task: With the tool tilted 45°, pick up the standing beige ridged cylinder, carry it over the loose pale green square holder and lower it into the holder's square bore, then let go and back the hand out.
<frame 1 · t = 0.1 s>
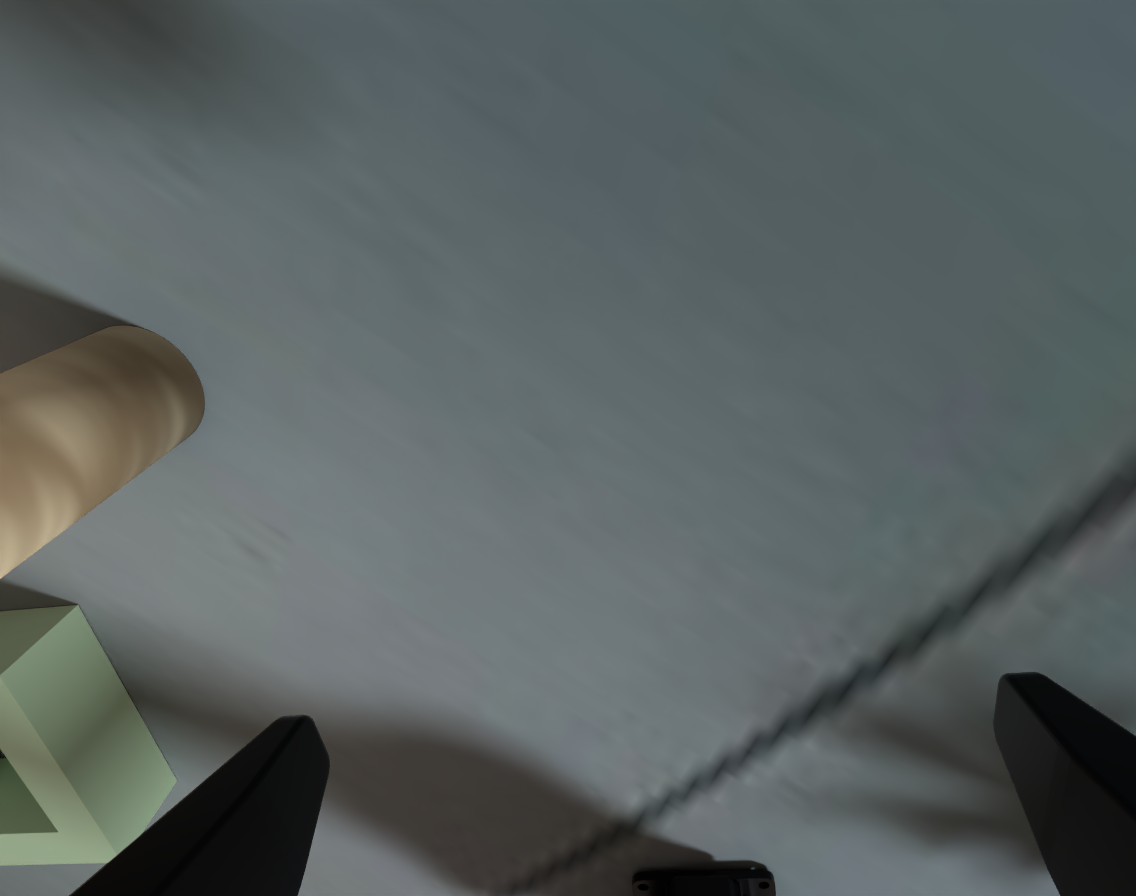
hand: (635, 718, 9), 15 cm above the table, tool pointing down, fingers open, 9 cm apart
pale green square holder: (27, 705, 32), on the table
beige ridged cylinder: (141, 387, 24), on the table
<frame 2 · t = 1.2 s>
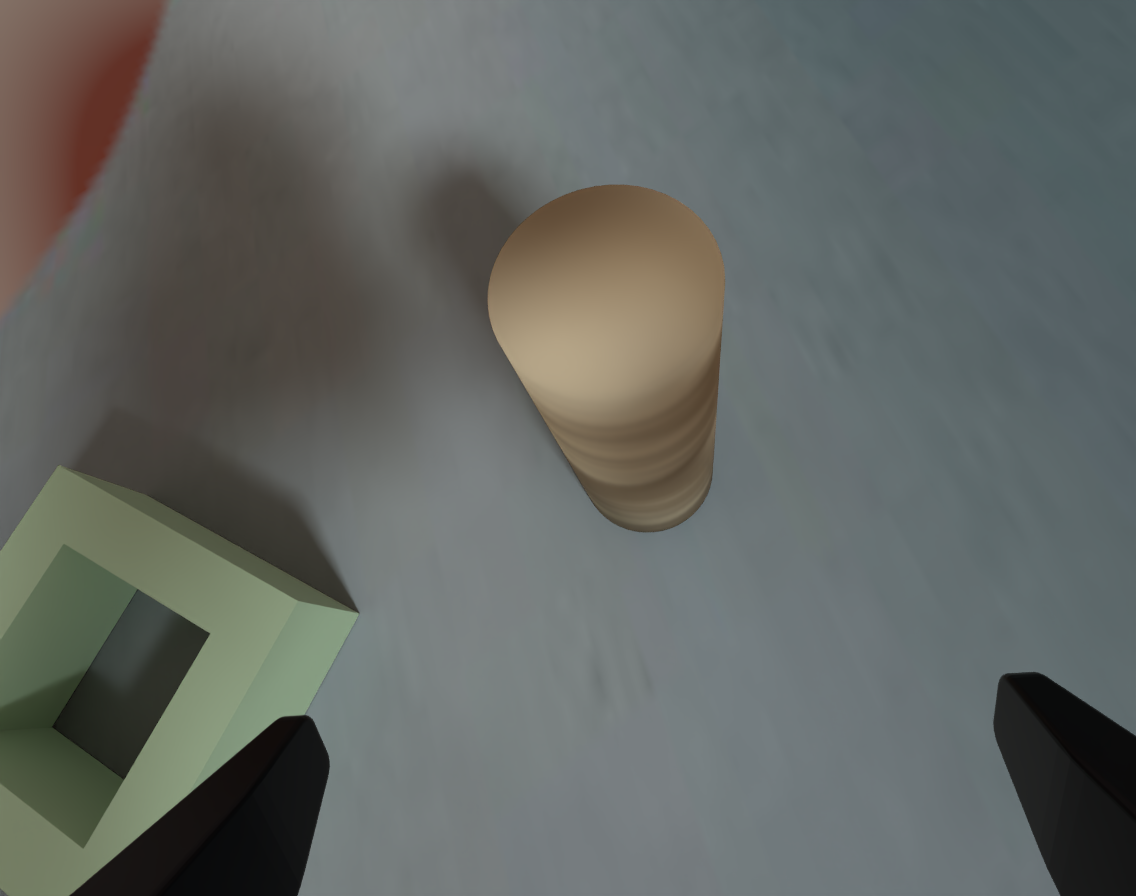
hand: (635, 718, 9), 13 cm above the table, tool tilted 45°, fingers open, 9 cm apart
pale green square holder: (167, 684, 25), on the table
beige ridged cylinder: (647, 469, 24), on the table
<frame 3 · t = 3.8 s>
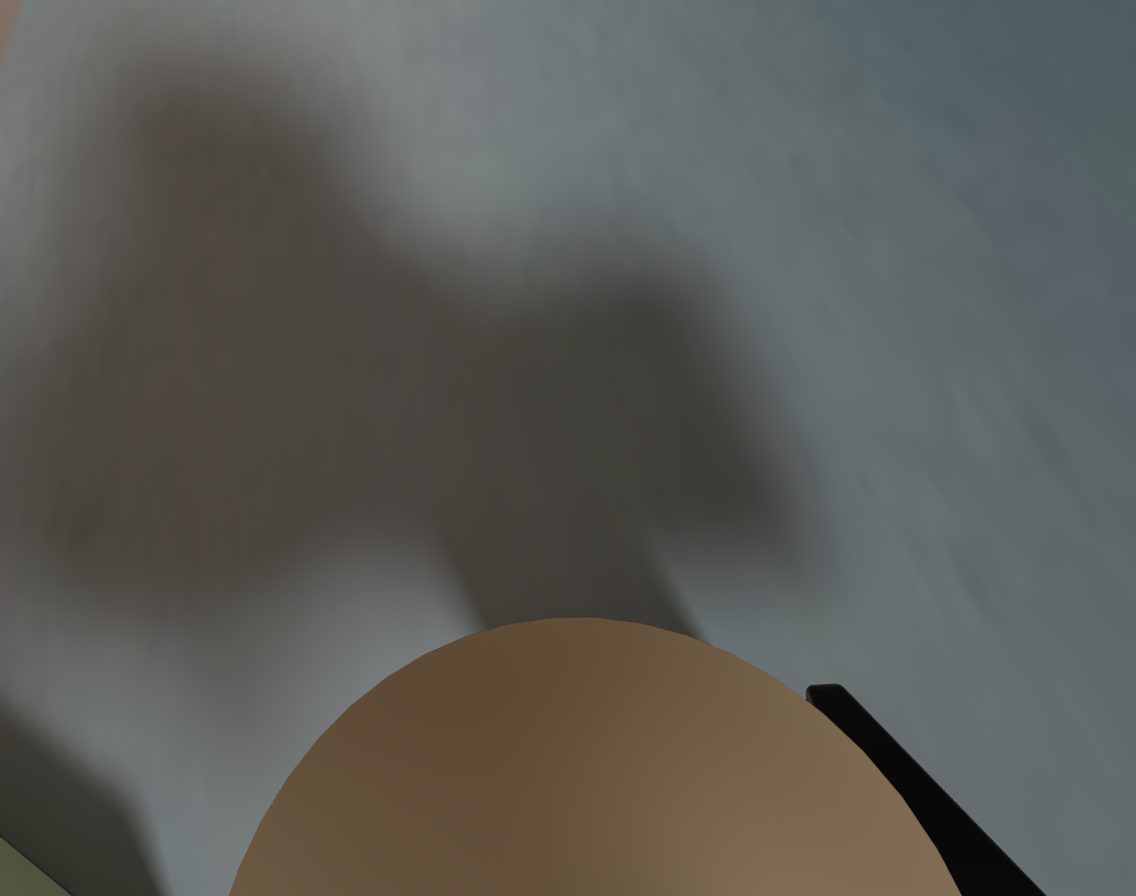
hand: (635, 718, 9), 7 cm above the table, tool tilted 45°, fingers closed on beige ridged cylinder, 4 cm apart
beige ridged cylinder: (666, 775, 15), on the table, touching gripper
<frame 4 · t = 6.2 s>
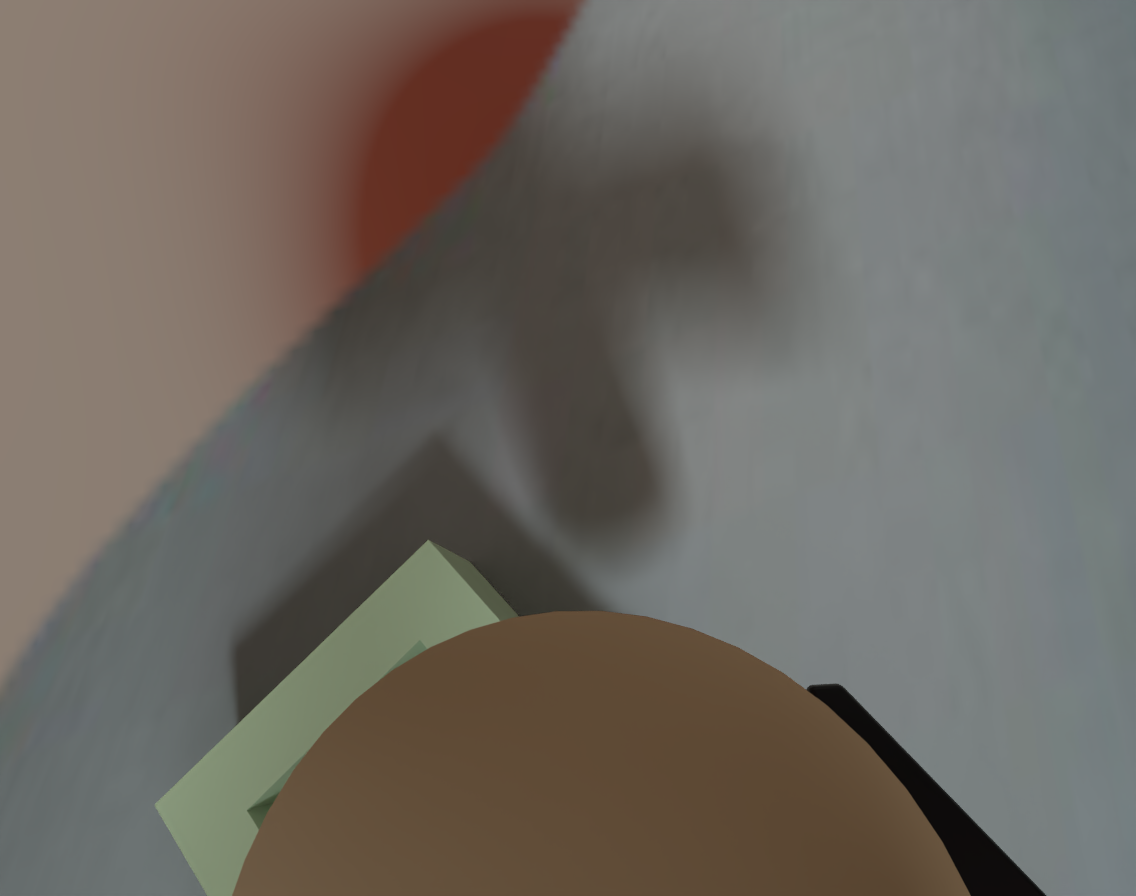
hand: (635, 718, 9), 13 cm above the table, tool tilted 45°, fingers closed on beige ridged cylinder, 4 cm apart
pale green square holder: (454, 796, 22), on the table
beige ridged cylinder: (668, 772, 15), point 7 cm above the table, touching gripper
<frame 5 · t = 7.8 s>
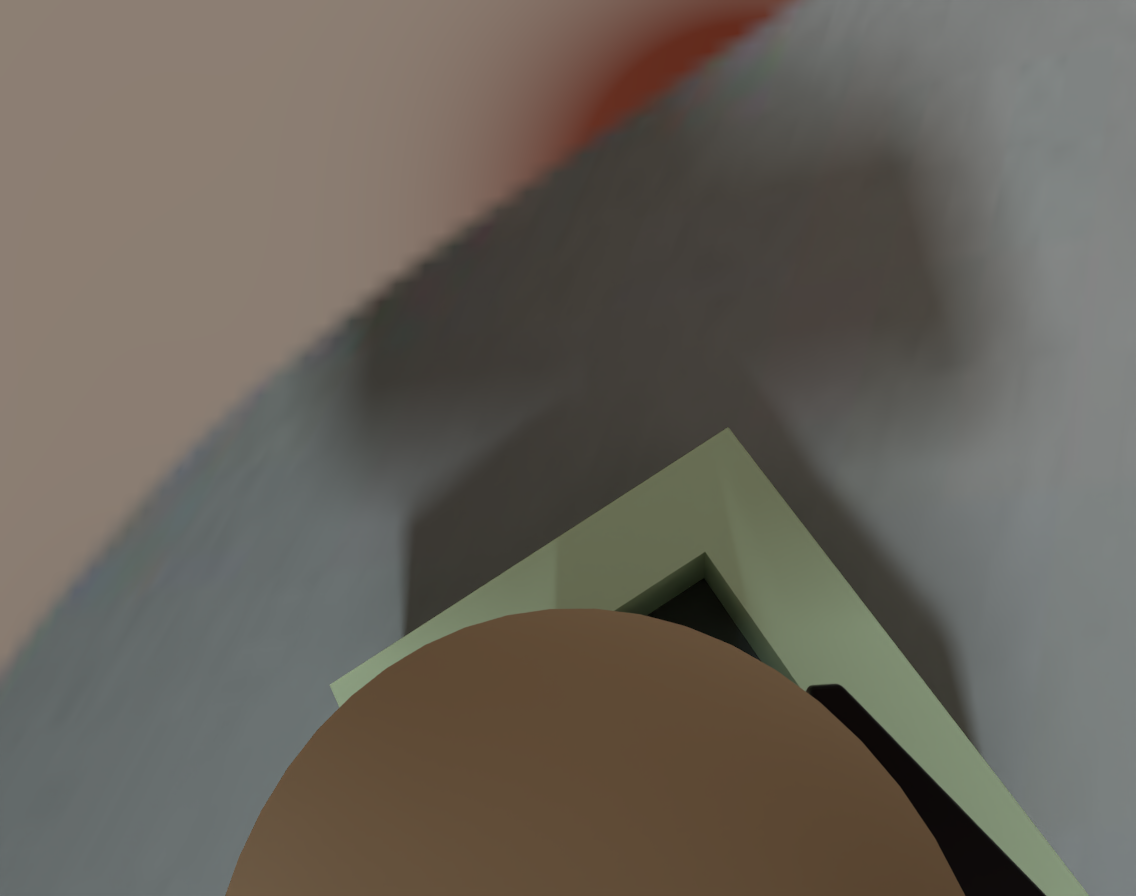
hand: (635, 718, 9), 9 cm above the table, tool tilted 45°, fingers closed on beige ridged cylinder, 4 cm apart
pale green square holder: (670, 758, 17), on the table
beige ridged cylinder: (666, 772, 15), point 3 cm above the table, touching gripper
when the fingers open (8 cm above the table, at t = 8.8 s): beige ridged cylinder drops 1 cm, resting in pale green square holder.
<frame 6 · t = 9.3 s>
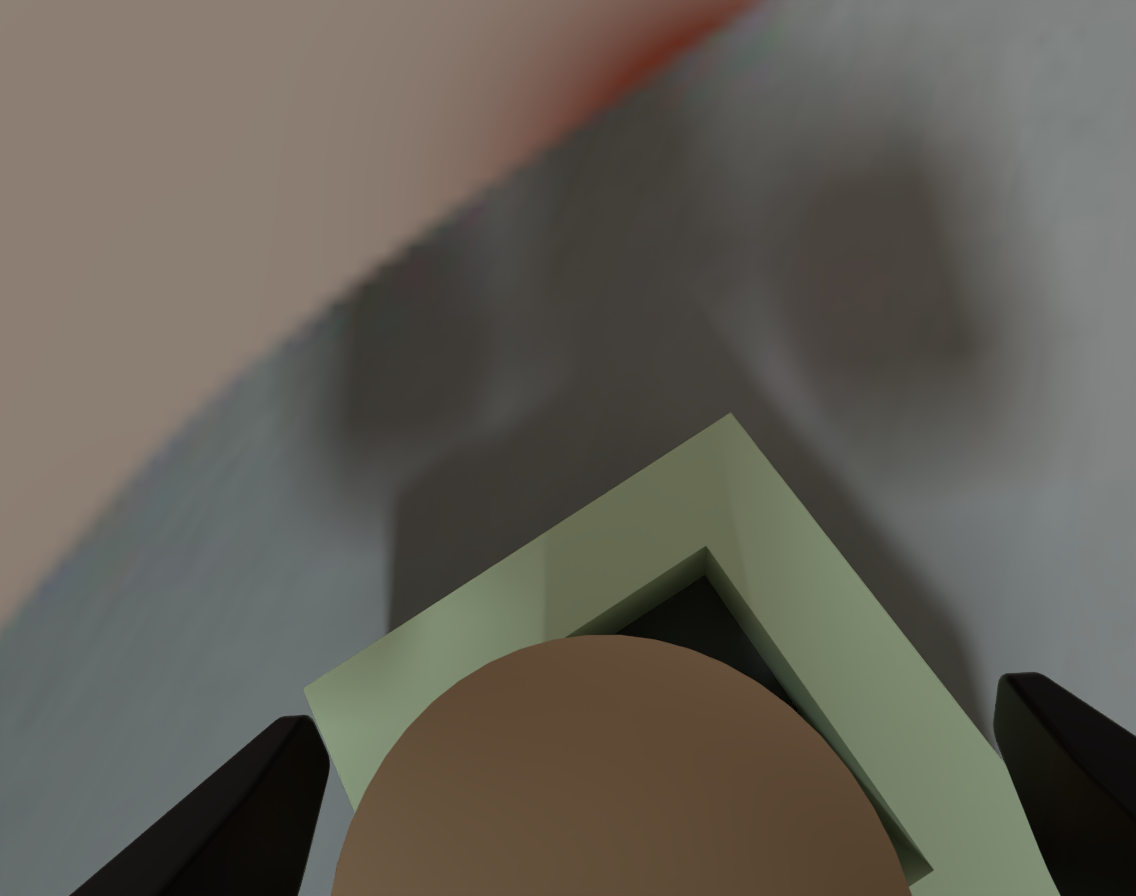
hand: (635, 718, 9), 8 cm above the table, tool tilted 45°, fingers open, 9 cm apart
pale green square holder: (669, 767, 16), on the table
beige ridged cylinder: (669, 766, 16), resting in pale green square holder
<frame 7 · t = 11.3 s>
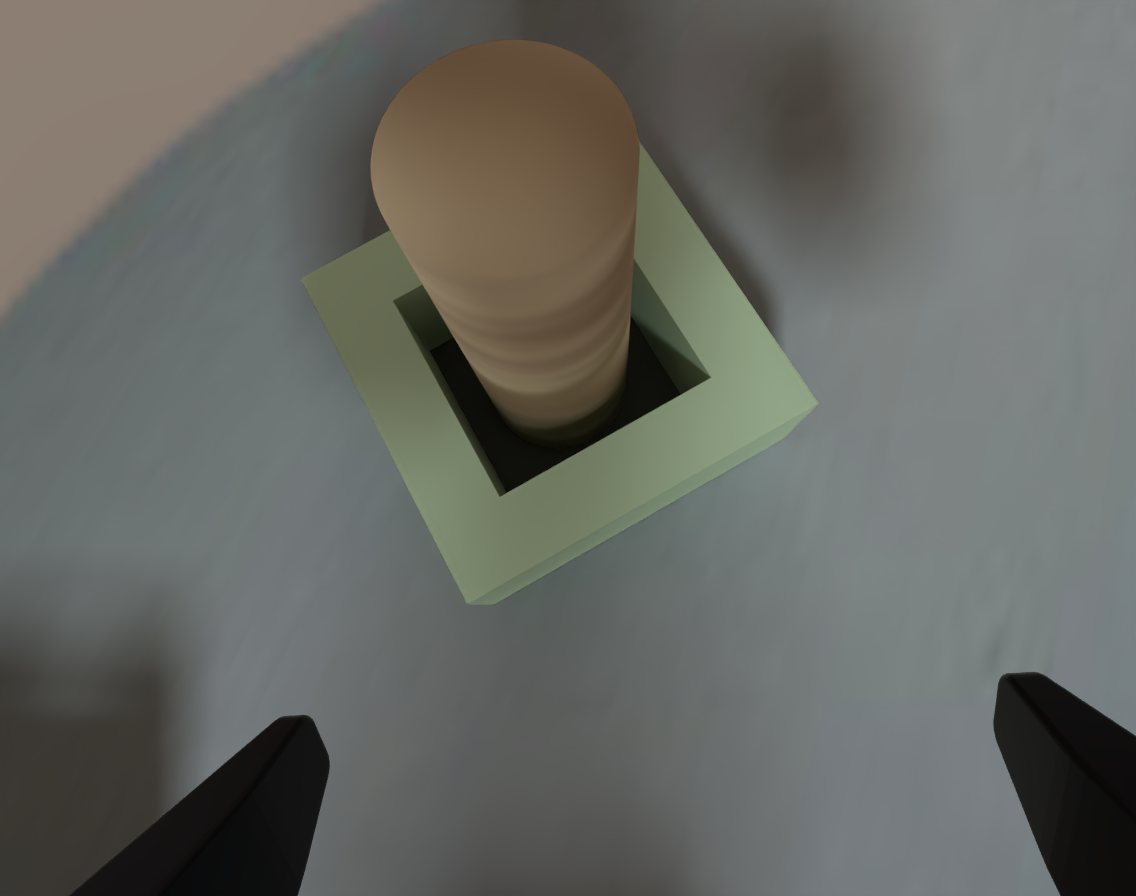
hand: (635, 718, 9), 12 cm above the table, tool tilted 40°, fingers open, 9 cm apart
pale green square holder: (559, 383, 23), on the table
beige ridged cylinder: (559, 382, 23), resting in pale green square holder
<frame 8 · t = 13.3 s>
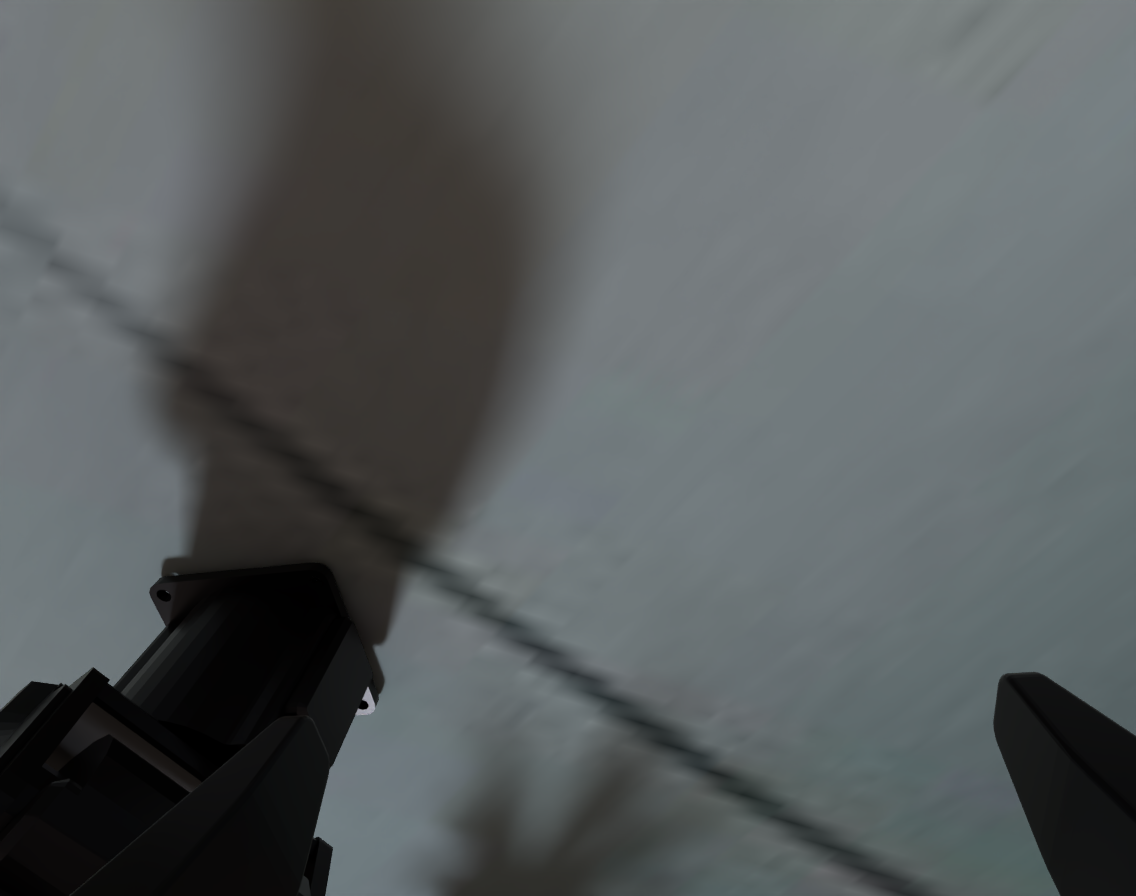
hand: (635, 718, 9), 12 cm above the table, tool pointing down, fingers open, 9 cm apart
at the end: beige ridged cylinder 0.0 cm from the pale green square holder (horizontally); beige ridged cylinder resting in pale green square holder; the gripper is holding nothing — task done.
